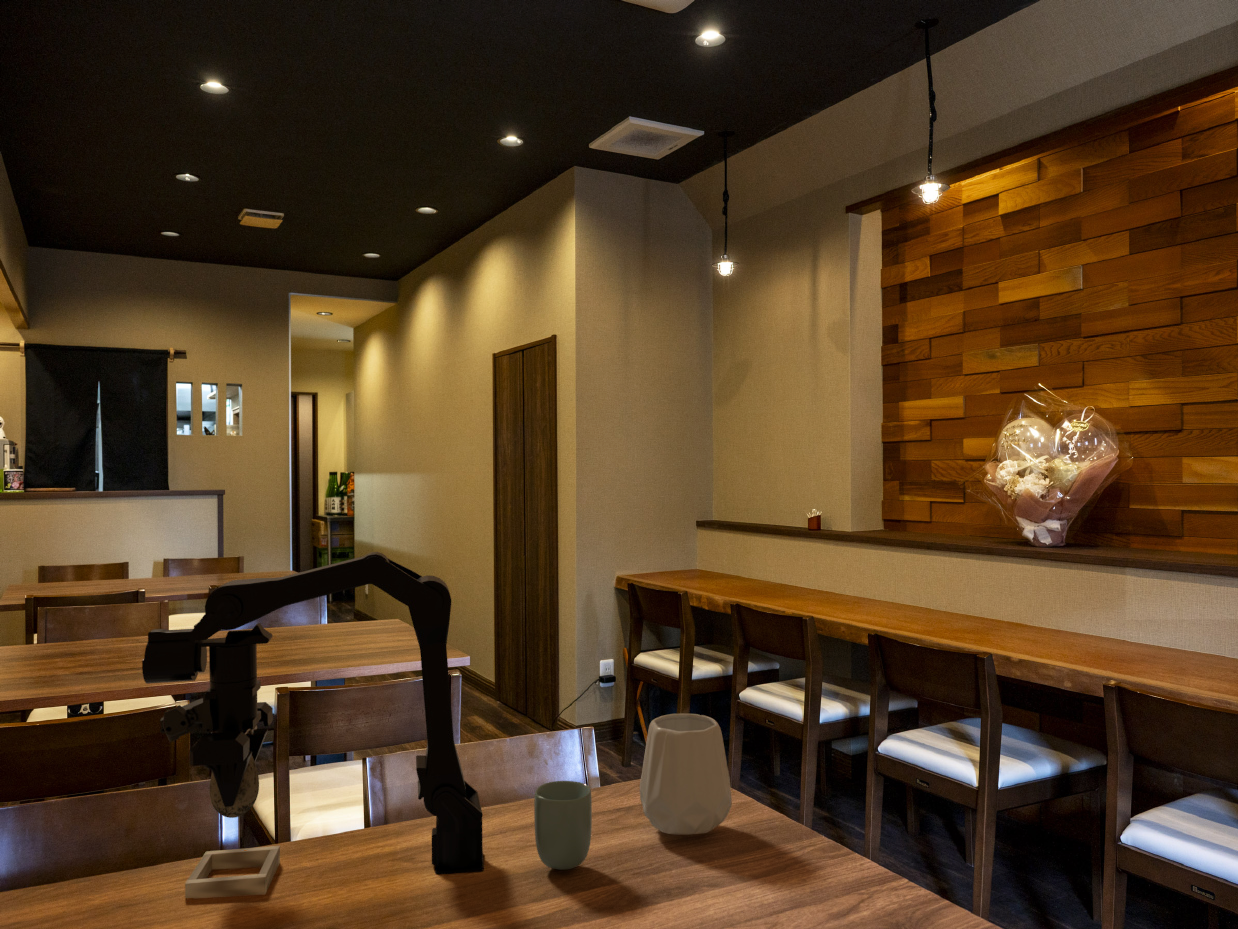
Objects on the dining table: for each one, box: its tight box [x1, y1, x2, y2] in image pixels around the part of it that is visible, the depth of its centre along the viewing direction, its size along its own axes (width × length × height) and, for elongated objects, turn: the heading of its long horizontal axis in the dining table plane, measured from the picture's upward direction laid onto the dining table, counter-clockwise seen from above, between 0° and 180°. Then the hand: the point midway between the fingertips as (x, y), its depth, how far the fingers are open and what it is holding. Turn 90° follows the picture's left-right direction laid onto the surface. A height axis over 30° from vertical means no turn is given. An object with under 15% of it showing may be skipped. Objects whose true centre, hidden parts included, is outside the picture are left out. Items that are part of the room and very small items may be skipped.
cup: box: [533, 780, 593, 871], centre depth 123 cm, size 8×8×10 cm
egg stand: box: [184, 845, 281, 899], centre depth 118 cm, size 10×10×2 cm
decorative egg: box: [209, 751, 260, 819], centre depth 118 cm, size 6×6×10 cm
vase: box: [639, 712, 733, 835], centre depth 137 cm, size 14×14×15 cm
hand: (235, 797), depth 118 cm, fingers closed on decorative egg, 6 cm apart
